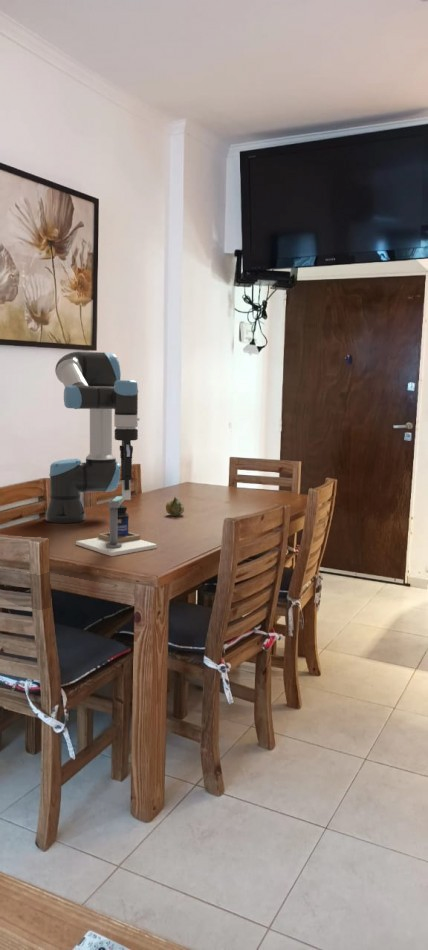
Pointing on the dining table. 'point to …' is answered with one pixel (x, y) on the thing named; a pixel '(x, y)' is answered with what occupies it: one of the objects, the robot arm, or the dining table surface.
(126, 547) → the base board
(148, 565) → the dining table surface
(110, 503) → the keeper arm
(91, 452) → the robot arm
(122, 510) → the pill bottle
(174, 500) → the onion
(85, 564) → the dining table surface
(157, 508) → the dining table surface
